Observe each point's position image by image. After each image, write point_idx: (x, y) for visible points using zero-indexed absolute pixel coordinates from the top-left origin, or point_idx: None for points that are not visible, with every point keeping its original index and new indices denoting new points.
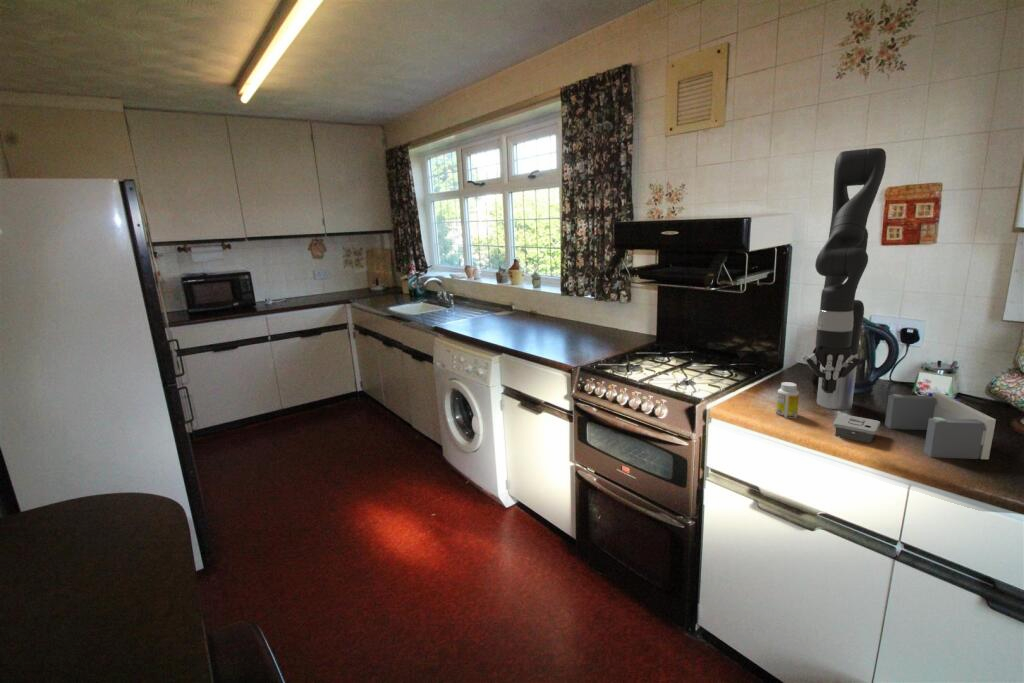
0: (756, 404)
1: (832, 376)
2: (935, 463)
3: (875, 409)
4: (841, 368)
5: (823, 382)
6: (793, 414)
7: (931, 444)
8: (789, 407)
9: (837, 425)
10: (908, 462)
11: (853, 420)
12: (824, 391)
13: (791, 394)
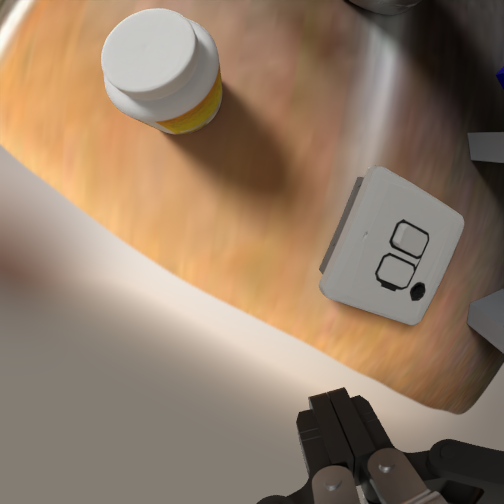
0: (98, 11)
1: (366, 501)
2: (457, 349)
3: (460, 13)
4: (468, 484)
5: (307, 466)
6: (200, 125)
7: (484, 335)
8: (175, 129)
9: (332, 297)
10: (418, 366)
11: (398, 248)
12: (309, 404)
13: (165, 118)
